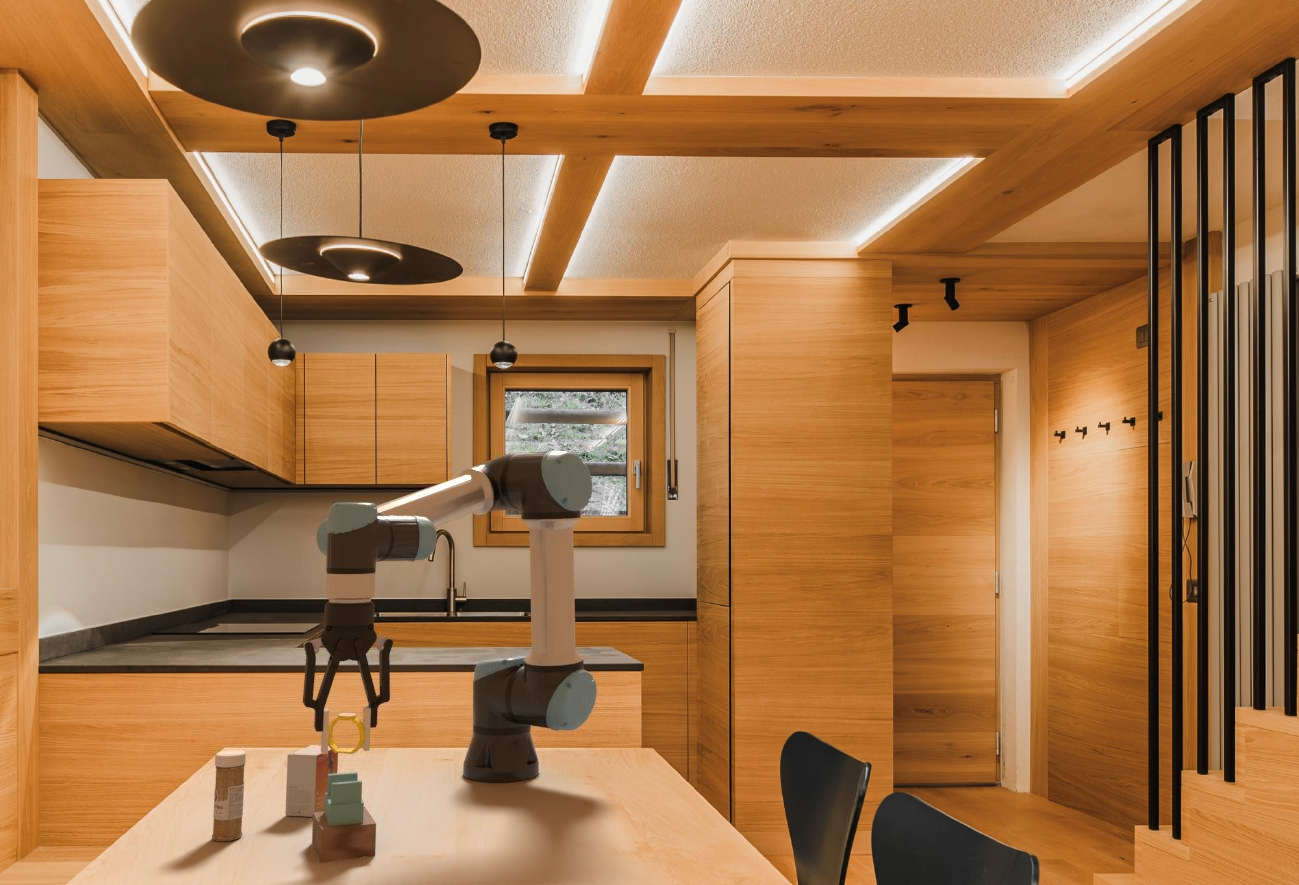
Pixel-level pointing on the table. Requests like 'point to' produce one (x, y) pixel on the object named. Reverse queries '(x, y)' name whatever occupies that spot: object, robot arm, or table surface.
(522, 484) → the robot arm
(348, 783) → the top block
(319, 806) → the small box
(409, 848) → the table surface
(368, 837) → the bottom block
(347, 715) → the watch
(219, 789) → the sprinkles bottle
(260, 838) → the table surface
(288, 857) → the table surface
